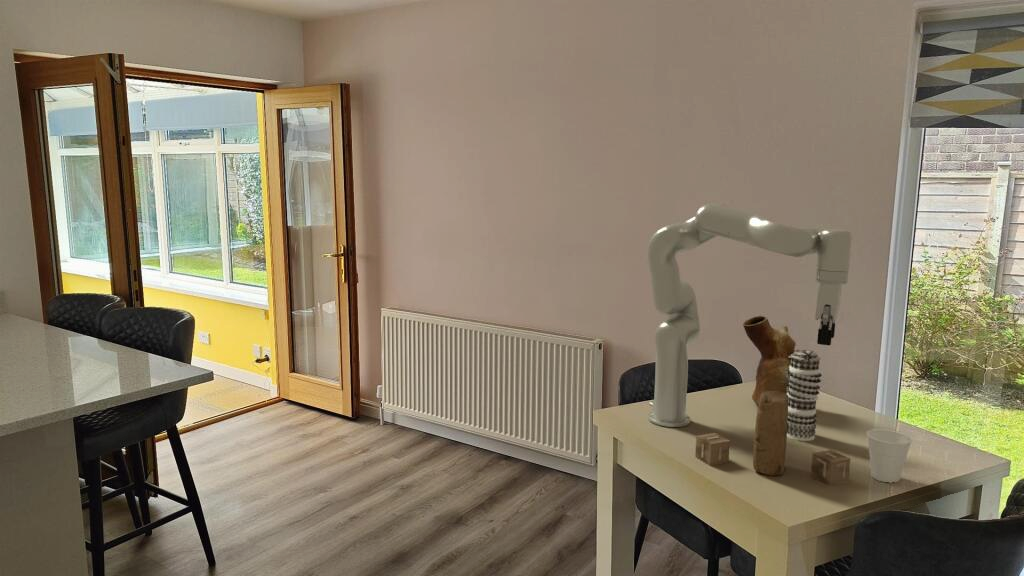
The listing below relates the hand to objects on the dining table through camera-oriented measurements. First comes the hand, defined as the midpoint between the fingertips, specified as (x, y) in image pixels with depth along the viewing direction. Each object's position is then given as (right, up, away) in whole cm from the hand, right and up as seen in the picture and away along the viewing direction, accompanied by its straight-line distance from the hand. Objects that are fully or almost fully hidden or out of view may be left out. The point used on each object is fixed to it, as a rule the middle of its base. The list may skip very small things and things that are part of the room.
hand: (825, 340), depth 181 cm
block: (-17, -33, -6) cm, 37 cm away
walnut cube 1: (-30, -31, 0) cm, 44 cm away
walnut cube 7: (-4, -33, -11) cm, 35 cm away
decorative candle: (0, -29, +17) cm, 34 cm away
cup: (+10, -34, -11) cm, 37 cm away
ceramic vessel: (+2, -25, +43) cm, 49 cm away
